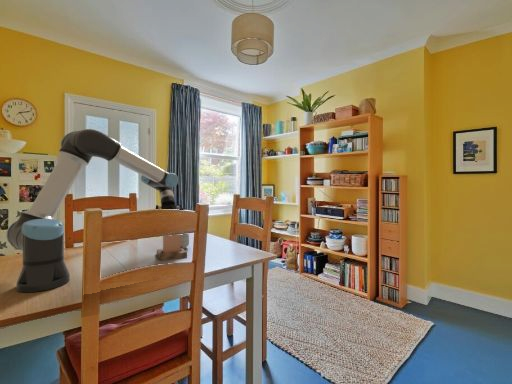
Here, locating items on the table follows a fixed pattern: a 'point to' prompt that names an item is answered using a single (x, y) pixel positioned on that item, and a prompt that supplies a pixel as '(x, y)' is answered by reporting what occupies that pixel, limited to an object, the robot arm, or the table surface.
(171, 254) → the base board
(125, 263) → the table surface
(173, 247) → the pinkish brown block
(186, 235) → the grey rounded piece
